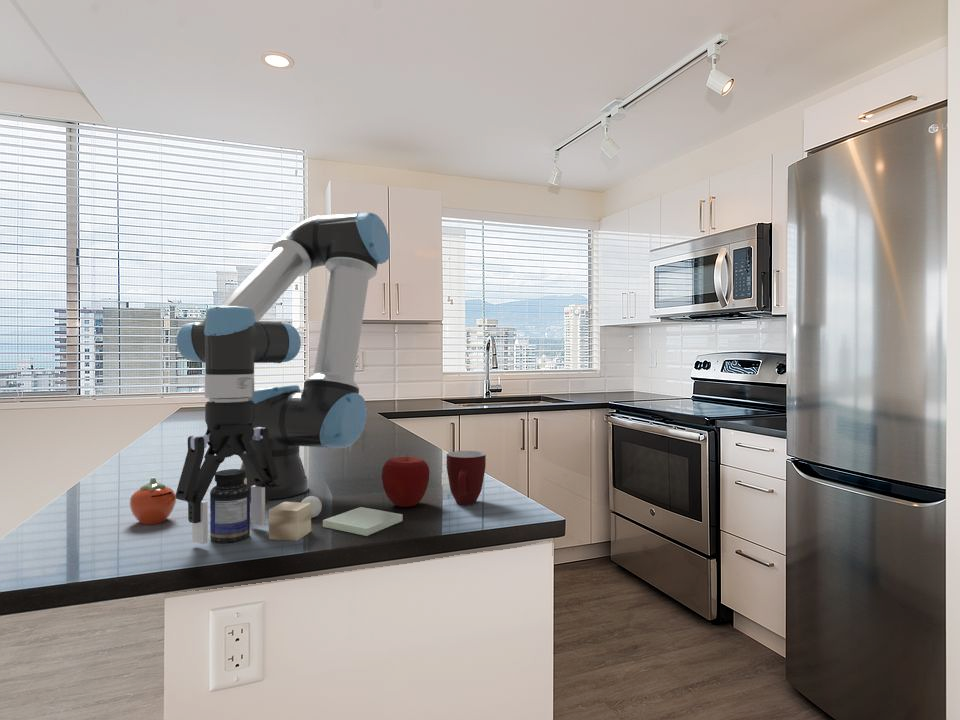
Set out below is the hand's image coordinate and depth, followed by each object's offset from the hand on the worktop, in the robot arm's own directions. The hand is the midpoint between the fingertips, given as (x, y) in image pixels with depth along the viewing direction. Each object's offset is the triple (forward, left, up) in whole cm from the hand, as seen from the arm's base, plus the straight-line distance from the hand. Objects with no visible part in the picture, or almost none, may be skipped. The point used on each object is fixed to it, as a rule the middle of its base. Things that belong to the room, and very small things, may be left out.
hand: (230, 532), depth 96 cm
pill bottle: (0, 0, -1) cm, 1 cm away
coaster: (+14, +17, -1) cm, 22 cm away
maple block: (+7, +6, -1) cm, 10 cm away
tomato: (-20, -1, -1) cm, 20 cm away
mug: (+23, +38, -1) cm, 44 cm away
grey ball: (+3, +15, -1) cm, 15 cm away
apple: (+13, +31, -1) cm, 34 cm away
